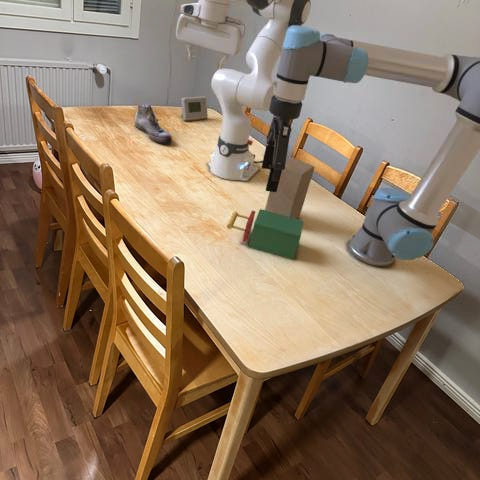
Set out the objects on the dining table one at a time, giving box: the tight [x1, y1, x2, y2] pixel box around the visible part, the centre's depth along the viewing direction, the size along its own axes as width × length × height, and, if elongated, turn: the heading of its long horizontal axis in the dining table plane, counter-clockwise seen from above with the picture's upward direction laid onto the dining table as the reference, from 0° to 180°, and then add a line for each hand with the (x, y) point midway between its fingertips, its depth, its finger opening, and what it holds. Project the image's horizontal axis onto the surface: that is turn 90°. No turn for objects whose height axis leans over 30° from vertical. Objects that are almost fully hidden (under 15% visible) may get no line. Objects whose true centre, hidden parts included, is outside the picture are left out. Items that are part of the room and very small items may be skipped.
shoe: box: [134, 102, 172, 145], centre depth 194 cm, size 25×11×12 cm, turn 30°
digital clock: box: [180, 95, 209, 122], centre depth 224 cm, size 16×9×11 cm, turn 123°
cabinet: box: [248, 208, 304, 260], centre depth 137 cm, size 14×10×9 cm
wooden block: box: [264, 156, 315, 219], centre depth 151 cm, size 10×10×20 cm
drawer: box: [226, 210, 256, 243], centre depth 138 cm, size 19×9×7 cm, turn 78°
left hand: (205, 64), depth 130 cm, fingers open, 8 cm apart
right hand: (268, 179), depth 115 cm, fingers open, 13 cm apart
